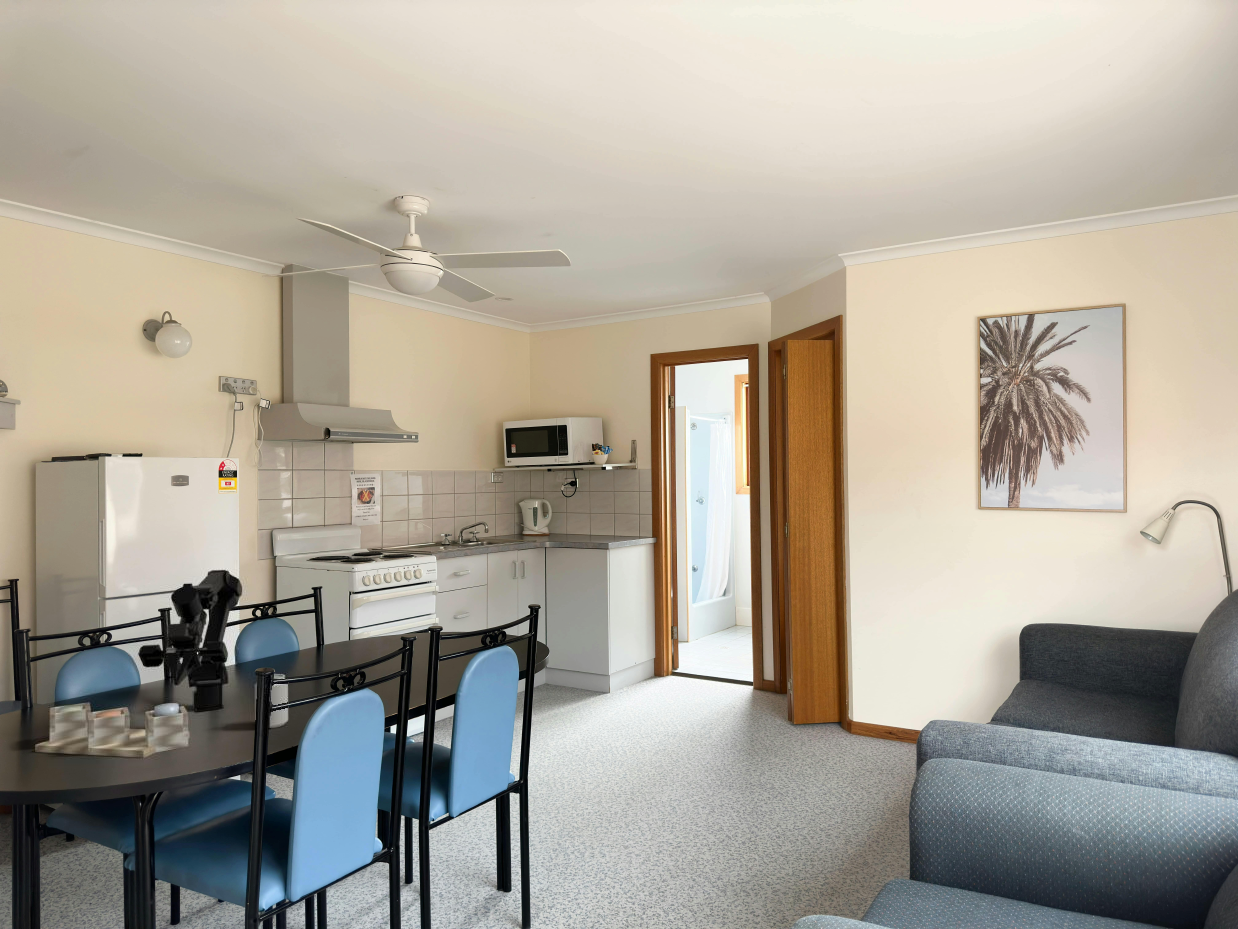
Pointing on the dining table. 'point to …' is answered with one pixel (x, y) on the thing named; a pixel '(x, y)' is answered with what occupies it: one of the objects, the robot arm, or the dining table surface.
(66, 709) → the button sage
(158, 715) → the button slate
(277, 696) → the can
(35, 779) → the dining table surface
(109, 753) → the button console
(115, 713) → the button terracotta
